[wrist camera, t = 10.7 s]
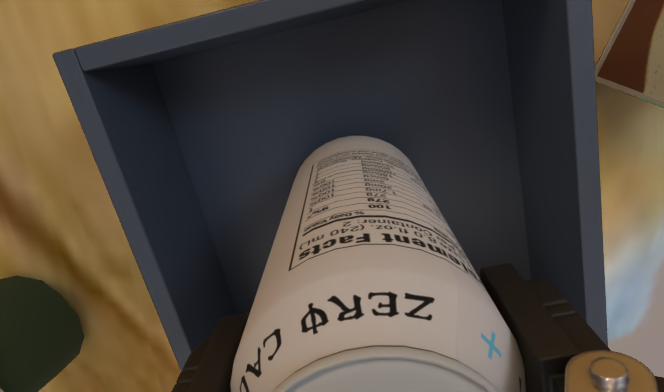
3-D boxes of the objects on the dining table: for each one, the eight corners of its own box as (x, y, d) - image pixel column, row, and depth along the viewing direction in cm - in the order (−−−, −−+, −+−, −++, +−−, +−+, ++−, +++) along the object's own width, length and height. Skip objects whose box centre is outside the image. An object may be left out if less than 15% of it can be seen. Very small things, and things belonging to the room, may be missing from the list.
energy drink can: (272, 216, 22) (154, 520, 8) (330, 107, 21) (307, 254, 6) (378, 268, 23) (439, 628, 9) (442, 168, 21) (644, 419, 7)
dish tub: (242, 351, 27) (211, 448, 21) (137, 50, 22) (50, 53, 15) (542, 296, 25) (610, 382, 19) (509, -44, 20) (588, -86, 14)
